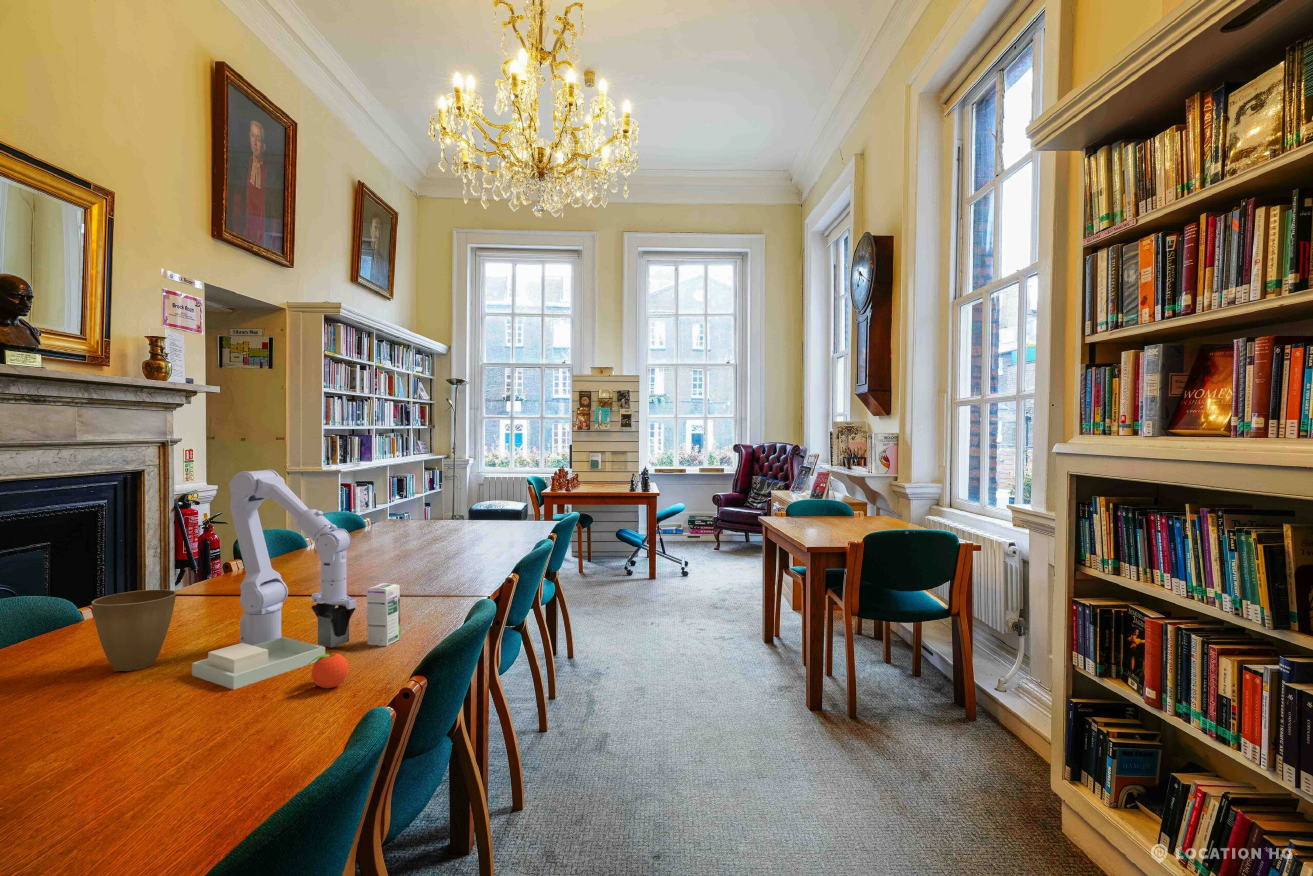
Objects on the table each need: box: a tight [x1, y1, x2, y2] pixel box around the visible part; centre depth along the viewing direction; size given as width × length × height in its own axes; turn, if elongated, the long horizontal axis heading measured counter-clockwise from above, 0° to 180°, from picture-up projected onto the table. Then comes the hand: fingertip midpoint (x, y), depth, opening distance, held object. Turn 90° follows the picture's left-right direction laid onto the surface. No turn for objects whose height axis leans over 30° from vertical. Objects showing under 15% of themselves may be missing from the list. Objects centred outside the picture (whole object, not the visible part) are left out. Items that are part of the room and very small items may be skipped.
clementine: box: [307, 652, 349, 689], centre depth 131 cm, size 8×7×7 cm
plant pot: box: [91, 589, 177, 672], centre depth 143 cm, size 15×15×16 cm
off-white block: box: [207, 642, 268, 674], centre depth 136 cm, size 10×7×5 cm
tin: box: [317, 613, 350, 648], centre depth 155 cm, size 5×5×7 cm
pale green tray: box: [191, 636, 326, 691], centre depth 141 cm, size 16×20×4 cm
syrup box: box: [366, 582, 402, 647], centre depth 160 cm, size 6×6×14 cm
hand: (333, 633), depth 155 cm, fingers closed on tin, 5 cm apart
